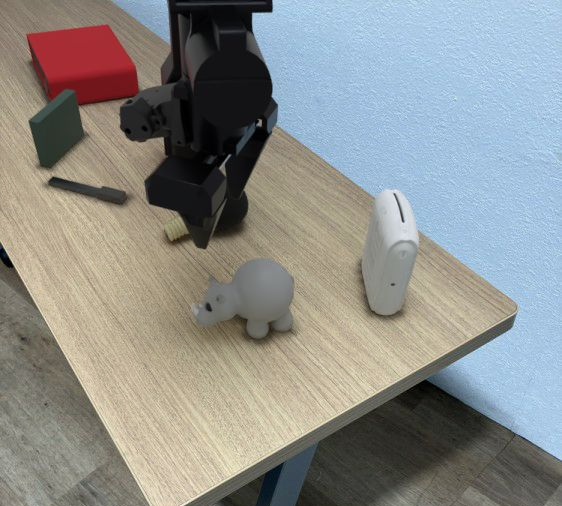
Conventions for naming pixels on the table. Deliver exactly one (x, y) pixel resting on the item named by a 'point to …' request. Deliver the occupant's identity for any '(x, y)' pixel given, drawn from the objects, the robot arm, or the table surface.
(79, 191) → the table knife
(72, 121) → the backboard
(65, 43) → the audio interface
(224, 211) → the light bulb
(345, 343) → the table surface
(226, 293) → the chubby cartoon animal
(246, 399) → the table surface
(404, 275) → the photo printer
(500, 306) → the table surface
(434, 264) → the table surface
